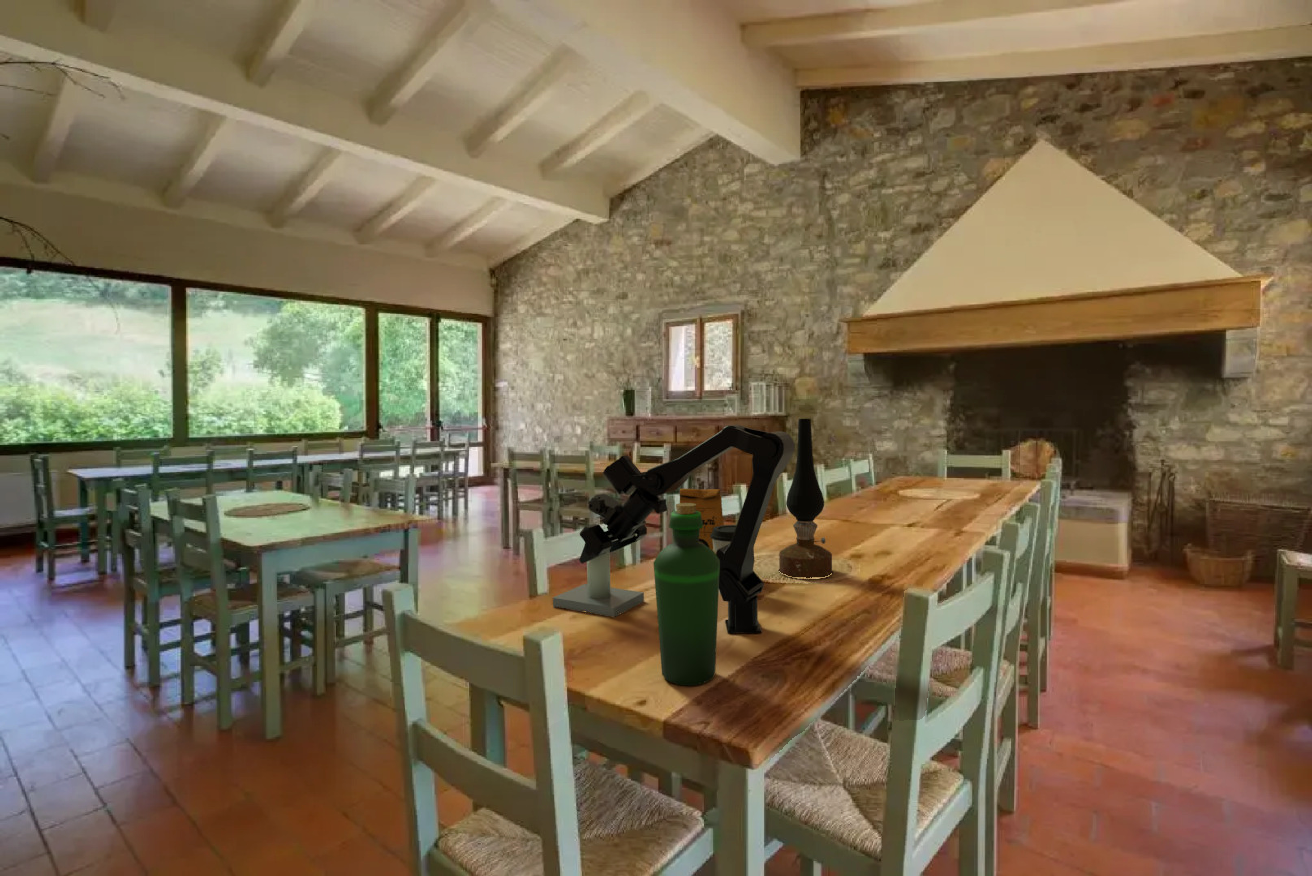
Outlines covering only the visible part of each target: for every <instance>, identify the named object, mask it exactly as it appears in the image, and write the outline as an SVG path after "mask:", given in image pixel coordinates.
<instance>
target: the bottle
mask: <svg viewBox="0 0 1312 876" xmlns="http://www.w3.org/2000/svg"><path fill="white" fill-rule="evenodd" d="M695 508H696V504H694V503H680V502H679V503H676V504H675V509H676V510H674V511H672V512H671V513H670V519H669V523H668V524H669V525H668V528H670V529H671V530H672V535H673V536H672V537H673V542H672V543H669V544H668V545H666V546H665V547H664V548H662V549H661V550H660V552H658V554H657V556H656V557H655V560H654V561H653V572H654V588H655V599H656V614H657V626H658V637H659V638H658V639H659V640H658V641H659V652H660V653H659V654H660V664H661V665H660V666H661V675H662V676H663V677H664V679H665V680H666V681H668V682H670V683H672V684H673V683H674V684H676V685H679V686H686V687H687V686H689V687H691V686H698V685H703V684H705V683H707V682H708V681H711V680H713V679H714V677H715V674H716V661H717V657H716V656H717V637H718V635H717V633H718V616H719V615H718V613H719V595H720V594H719V571H720V560H719V559H718V557H717V556H716V554H715V553H714V551H713V550H711V549H710V548H708V547H707V546H705V545H704V544H702V543H700V542H699V533H700V528H702V527H703V522H702V517H701V513H700V512H699V511H695Z"/></svg>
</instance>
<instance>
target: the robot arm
mask: <svg viewBox="0 0 1312 876" xmlns="http://www.w3.org/2000/svg"><path fill="white" fill-rule="evenodd" d="M734 448H736V449H738V450H739V451H742V452H744V453H746V454H750V455H752V457H751V458H752V459H751V464H752V465H751V466H752V467H751V468H752V477H751V481H750V482H749V486H748V490H747V492H746V496H745V499H744V501H743V505H742V508H741V511H740V514H739V516H738V520H737V522H736V524H735V525H736V528H735V532H734V535H733V538H732V541H731V543H730V544H728V545H726V546H724V547H722V548H720V549H718V550H717V553H716V556H717V557H718V559H719V560H720V571H719V590H720V593H721V595H720V596H721V598H722V601H723V602H727V619H725V620H724V623H725V628H726V632H727V633H728V634H762V627H761V625H760V622H759V618H758V615H759V614H758V612H759V611H758V596H757V595H758V594H761V593H762V591H763V589H764V586H765V582H764V581H763V580H762V579H761V578H760V576H759V575H758V574H757V573H756V572H755V571H754V565H755V551H754V550H755V549H754V548H755V544H756V542H757V538H758V536H759V532H760V529H761V526H762V523H763V520H764V517H765V514H766V511H767V509H768V506H769V502H770V499H771V497H772V495H773V494H772V493H773V491H774V487H775V485H776V483H777V482H776V481H777V480H778V479H779V477H780V475H781V474H782V473H783V471H784V470H785V469H786V467H787V465H788V464H789V462H790V460H791V459H792V457H793V455H794V454H795V450H796V443H795V442H794V440H793V438H792V436H791V435H790V434H789V433H788V432H785V431H782V430H779V431H771V432H768V431H763V430H760V429H758V430H757V429H754V428H749V427H745V426H743V425H740V424H731V425H726V426H724V427H723V428H722V430H720V431H719V432H717V433H716V434H714V435H713V436H711V437H709V438H708V439H705V441H703V442H702V443H700V444H698V445H697V446H695V447H693V448H692V449H691V450H689V451H688V452H685V453H684V454H683V455H681V456H679V457H677V458H676V459H672V460H670V461H666V462H664V463H661V464H659V465H656V466H654V467H653V466H652V467H651V468H649V469H648V470H646V471H643V472H642V471H640V469H639V468H638V467H637V466H636V465H635V463H634V462H633V461H632V459H631V458H630V456H629V455H627V454H625V455H621V456H620V457H619V459H616V460H615V461H613V462H612V463H610V464H609V465H607V466H606V467H605V469H603V472H602V476H603V477H604V478H605V479H606V481H607V482H608V483H609V484H610V485H611V487H612V488H613V490H615V492H616V493H617V494H618V495H619V496H620V495H625V496H628V495H629V497H628V498H627V499H626V500H625V501H624V502H623V504H622V503H620V502H619V501H618V500H617V499H615V498H613V497H611V496H609V494H605V493H600V494H596V495H594V496H593V497H591V498H590V500H589V501H588V502H587V504H588V510H589V511H590V512H592V513H594V514H595V515H598V516H599V517H602V518H603V519H602V520H601V521H602V523H603V524H604V525H605V526H606V529H607V530H606V531H605V530H604V529H603V527H602V526H601V525H600V524H597V523H593V524H590V525H587V526H584V527H583V529H581V530H580V531H579V536H580V537H581V539H582V540H583V541H584V546H583V549H582V552H581V553H580V557H579V559H578V560H579V562H580V564H585V563H587V561H590V560H592V559H594V558H596V557H599V556H601V555H603V554H605V553H606V552H607V551H608V550H609V549H610V554H611V553H613V552H615V551H618V550H620V549H623V548H625V547H627V546H629V545H632V544H635V543H636V542H638V541H639V540H640V541H641V540H642V539H644V537H645V536H646V535H647V534H648V529H647V528H648V527H647V526H646V523H647V521H646V520H647V518H648V517H649V516H650V515H651V514H652V513H653V512H655V513H656V514H657V515H658V514H663V513H665V512H667V511H668V505H667V499H666V498H661V496H662V495H663V496H664V495H665V494H669V493H673V492H676V491H677V490H678V489H680V488H681V487H682V485H683V484H685V483H686V482H687V481H688V480H689V478H690V476H691V475H693V474H694V473H695V472H697V471H698V470H700V469H701V468H703V467H704V466H706V465H708V464H709V463H711V462H712V461H714V460H716V459H718V458H719V457H721V456H723V455H724V454H726V453H727V452H729V451H730V450H733V449H734Z"/></svg>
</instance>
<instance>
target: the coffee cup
mask: <svg viewBox="0 0 1312 876" xmlns="http://www.w3.org/2000/svg"><path fill="white" fill-rule="evenodd" d="M736 525H737V524H724V525H722V526H717V527H714V528H713V532H712V533H711V536H710V537H711V538H712V540H713V551H714V553H715V554H716V553H717V550H718V549H720V548H722V547H724V546H726V545H728V544H730V543H731V541H732V538H733V535H734V532H735V528H736ZM718 595H720V596H721V593H720V590H719V594H718Z"/></svg>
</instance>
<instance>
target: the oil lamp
mask: <svg viewBox="0 0 1312 876" xmlns="http://www.w3.org/2000/svg"><path fill="white" fill-rule="evenodd" d="M811 420H812V419H811V418H798V426H797V447H796V449H797V452H796V453H797V454H796V463H795V471H794V475H793V479H792V482H791V484H790V485H791V486H790V488H789V490H788V493H787V496H786V503H785V505H786V508H787V510H788V511H789V513H790V514H791V516H793V517H794V518H795V520H796V522H794V523H793V525H792V526H793V527H792V528H793V529H794V532H795V534H796V537H795V538H796V543H793V544H790V545H788V546H787V547H785V548H783V549H781V550H780V551H779V554H778V557H779V558H778V560H779V561H778V562H779V563H778V564H779V568H778V570H777V572H778V571H780V572H781V573H783V574H786V575H788V576H792V577H806V578H810V577H811V578H812V577H825V576H828V575H830V574H831V573H833V574H834V571H833V553H832V552H831V551H830V550H828V549H826V548H824V547H823V546H820V545H818V544H815V543H817V542H821V544H825V543H826V539H825V537H821V539H820V540H815V539H816V538H815V533H816V532H817V531H816V530H817V529H818V524H817V523H816V522H815V521H814V520H815V519H816V518H817V517H818V516H819V515H820V514H821V513H822V511H823V510H824V507H825V499H824V495H823V491H822V489H821V487H820V485H819V481H818V477H817V474H816V472H815V466H814V455H813V436H812V421H811ZM780 572H778V573H780Z"/></svg>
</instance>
